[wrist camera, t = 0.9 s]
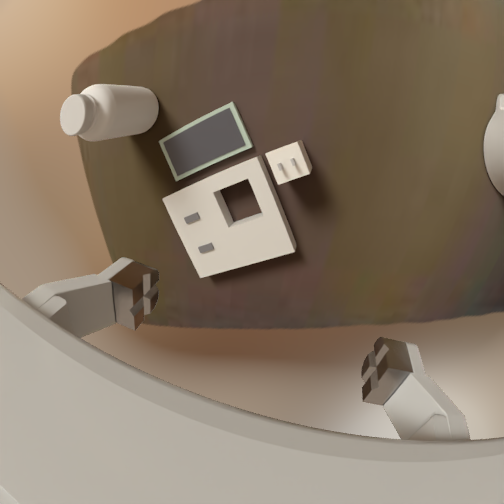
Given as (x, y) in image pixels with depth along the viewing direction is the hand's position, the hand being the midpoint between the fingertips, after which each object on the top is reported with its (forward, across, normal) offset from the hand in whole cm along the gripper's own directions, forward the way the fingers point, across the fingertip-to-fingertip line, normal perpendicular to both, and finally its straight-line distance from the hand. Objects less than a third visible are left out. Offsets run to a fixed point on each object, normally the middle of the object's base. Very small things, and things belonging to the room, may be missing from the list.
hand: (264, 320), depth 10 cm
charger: (+32, +3, -2) cm, 32 cm away
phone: (+32, +16, -1) cm, 36 cm away
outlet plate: (+32, +10, +9) cm, 35 cm away
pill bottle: (+32, +28, -5) cm, 43 cm away
